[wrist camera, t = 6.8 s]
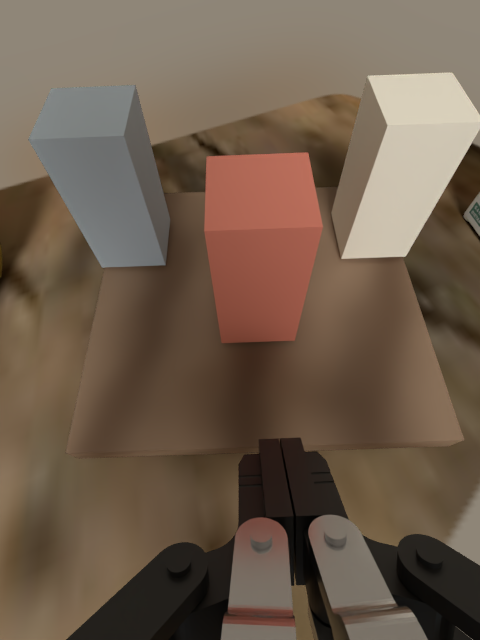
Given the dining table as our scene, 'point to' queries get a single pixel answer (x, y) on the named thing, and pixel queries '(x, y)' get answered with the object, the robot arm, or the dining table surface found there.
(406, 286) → the brown wooden board
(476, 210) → the syrup box
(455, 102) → the cream rectangular block
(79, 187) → the grey rectangular block
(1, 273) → the flower pot
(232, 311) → the red rectangular block
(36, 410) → the dining table surface
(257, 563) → the robot arm
